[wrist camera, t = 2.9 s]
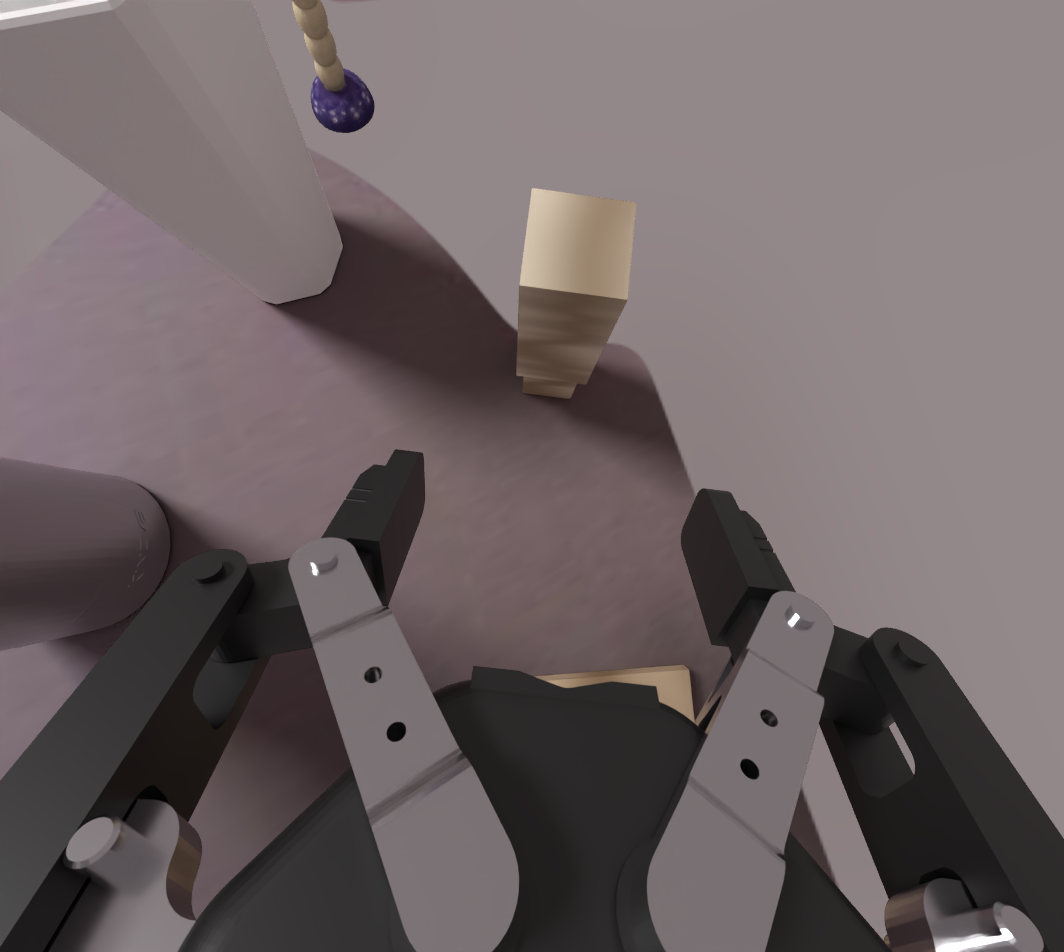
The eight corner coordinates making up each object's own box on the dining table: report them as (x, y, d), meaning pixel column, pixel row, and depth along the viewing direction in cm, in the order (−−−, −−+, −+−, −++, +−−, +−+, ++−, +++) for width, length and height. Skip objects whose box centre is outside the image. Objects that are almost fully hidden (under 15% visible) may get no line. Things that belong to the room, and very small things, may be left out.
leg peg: (515, 397, 29) (519, 285, 16) (522, 340, 30) (532, 187, 17) (575, 405, 29) (627, 299, 16) (581, 348, 30) (635, 202, 17)
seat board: (495, 905, 25) (492, 986, 20) (486, 680, 26) (481, 708, 22) (704, 883, 25) (745, 956, 21) (682, 664, 27) (716, 689, 23)
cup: (240, 164, 30) (-98, -307, 13) (385, 200, 30) (229, -222, 14) (184, 311, 29) (-283, -15, 12) (337, 348, 29) (93, 79, 12)
